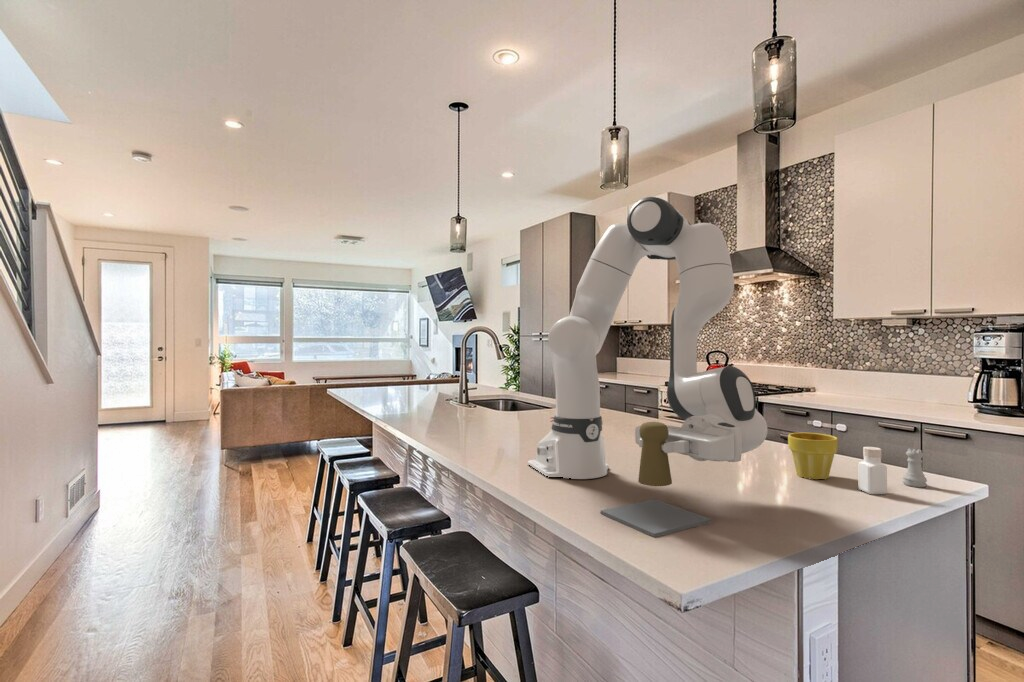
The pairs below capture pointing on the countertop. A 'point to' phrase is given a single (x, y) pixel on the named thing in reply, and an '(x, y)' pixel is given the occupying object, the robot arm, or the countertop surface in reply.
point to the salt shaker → (872, 472)
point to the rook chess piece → (914, 469)
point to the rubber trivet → (655, 517)
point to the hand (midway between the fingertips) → (651, 445)
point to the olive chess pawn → (654, 455)
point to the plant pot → (812, 453)
